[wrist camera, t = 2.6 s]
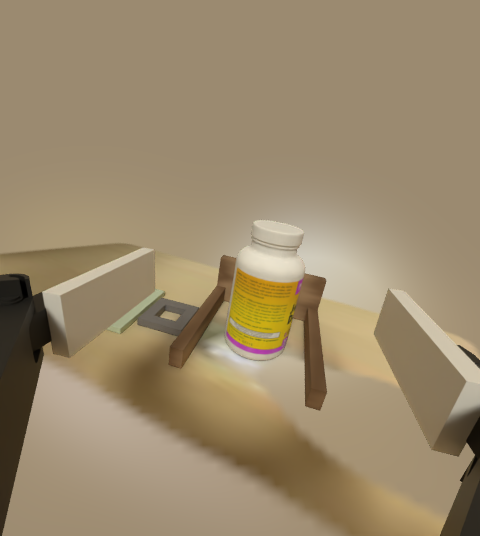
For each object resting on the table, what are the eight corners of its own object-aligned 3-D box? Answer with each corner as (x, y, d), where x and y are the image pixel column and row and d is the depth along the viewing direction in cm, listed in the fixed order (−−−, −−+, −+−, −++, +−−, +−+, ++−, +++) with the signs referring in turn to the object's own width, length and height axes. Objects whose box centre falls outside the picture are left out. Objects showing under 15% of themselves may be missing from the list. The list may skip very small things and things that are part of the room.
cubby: (168, 364, 23) (172, 306, 21) (218, 294, 37) (223, 255, 34) (320, 410, 21) (342, 351, 19) (313, 318, 34) (325, 278, 32)
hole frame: (137, 324, 28) (137, 318, 27) (161, 303, 32) (161, 297, 32) (180, 336, 27) (181, 330, 27) (198, 313, 31) (199, 307, 31)
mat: (44, 311, 27) (43, 306, 27) (104, 279, 35) (104, 275, 35) (120, 333, 26) (120, 328, 26) (164, 295, 34) (164, 291, 34)
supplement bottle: (288, 368, 25) (324, 242, 20) (220, 358, 25) (241, 229, 20) (280, 328, 31) (306, 224, 26) (226, 320, 31) (242, 214, 26)
